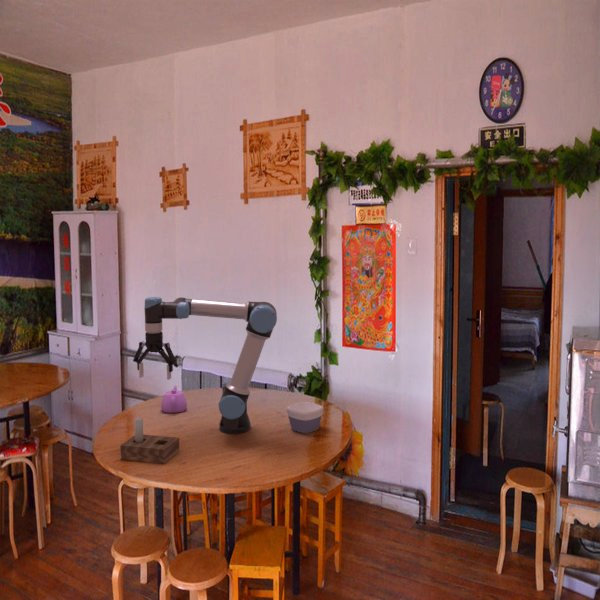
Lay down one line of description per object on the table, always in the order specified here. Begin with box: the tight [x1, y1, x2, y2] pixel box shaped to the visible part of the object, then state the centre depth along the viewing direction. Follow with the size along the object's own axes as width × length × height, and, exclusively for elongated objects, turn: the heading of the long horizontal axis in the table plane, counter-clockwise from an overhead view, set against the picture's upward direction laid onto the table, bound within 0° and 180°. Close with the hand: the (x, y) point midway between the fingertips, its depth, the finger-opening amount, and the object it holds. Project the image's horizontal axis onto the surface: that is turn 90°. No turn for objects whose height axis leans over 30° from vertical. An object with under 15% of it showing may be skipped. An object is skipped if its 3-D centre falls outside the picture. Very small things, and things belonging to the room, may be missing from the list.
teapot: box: [160, 384, 188, 414], centre depth 315 cm, size 13×20×11 cm
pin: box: [134, 417, 144, 443], centre depth 254 cm, size 3×3×14 cm
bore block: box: [119, 434, 180, 465], centre depth 253 cm, size 20×14×6 cm
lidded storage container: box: [286, 401, 324, 434], centre depth 286 cm, size 15×15×11 cm
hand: (155, 378), depth 269 cm, fingers open, 13 cm apart
